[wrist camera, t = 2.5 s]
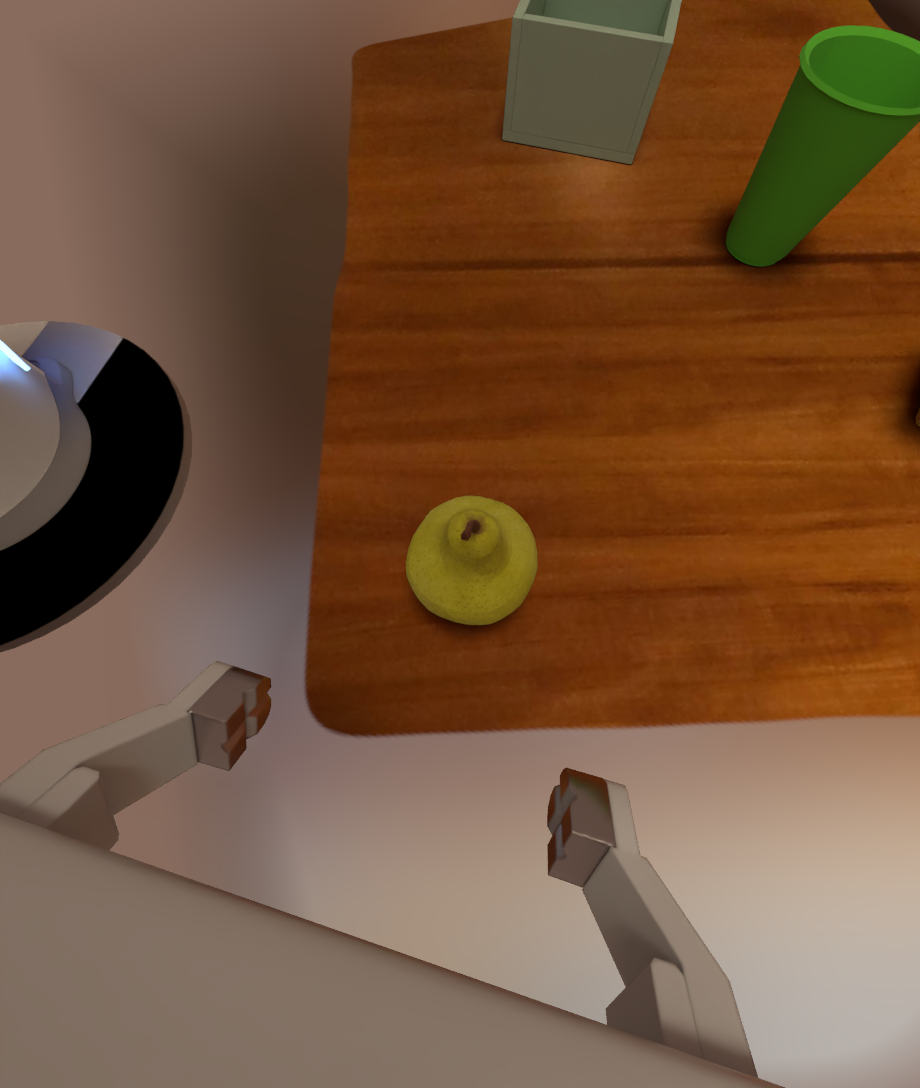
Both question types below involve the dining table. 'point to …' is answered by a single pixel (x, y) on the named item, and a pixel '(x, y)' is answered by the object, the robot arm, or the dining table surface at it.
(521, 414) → the dining table surface
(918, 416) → the flower pot
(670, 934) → the robot arm
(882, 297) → the dining table surface
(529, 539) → the fruit
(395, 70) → the dining table surface
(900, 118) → the cup
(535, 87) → the bin
